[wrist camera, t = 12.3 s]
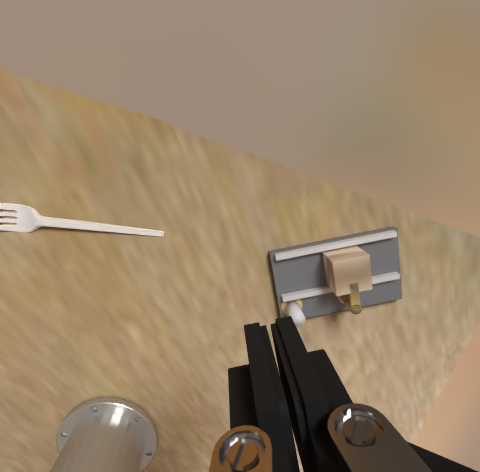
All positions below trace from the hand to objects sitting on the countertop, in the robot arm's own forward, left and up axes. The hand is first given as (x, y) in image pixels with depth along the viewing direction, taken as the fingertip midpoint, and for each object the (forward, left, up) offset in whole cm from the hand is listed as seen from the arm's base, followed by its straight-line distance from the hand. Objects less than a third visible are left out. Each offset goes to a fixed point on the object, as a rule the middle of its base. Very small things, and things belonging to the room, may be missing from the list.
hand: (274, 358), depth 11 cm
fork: (+2, +18, -28) cm, 33 cm away
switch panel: (-10, -10, -27) cm, 31 cm away
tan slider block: (-9, -11, -26) cm, 30 cm away
